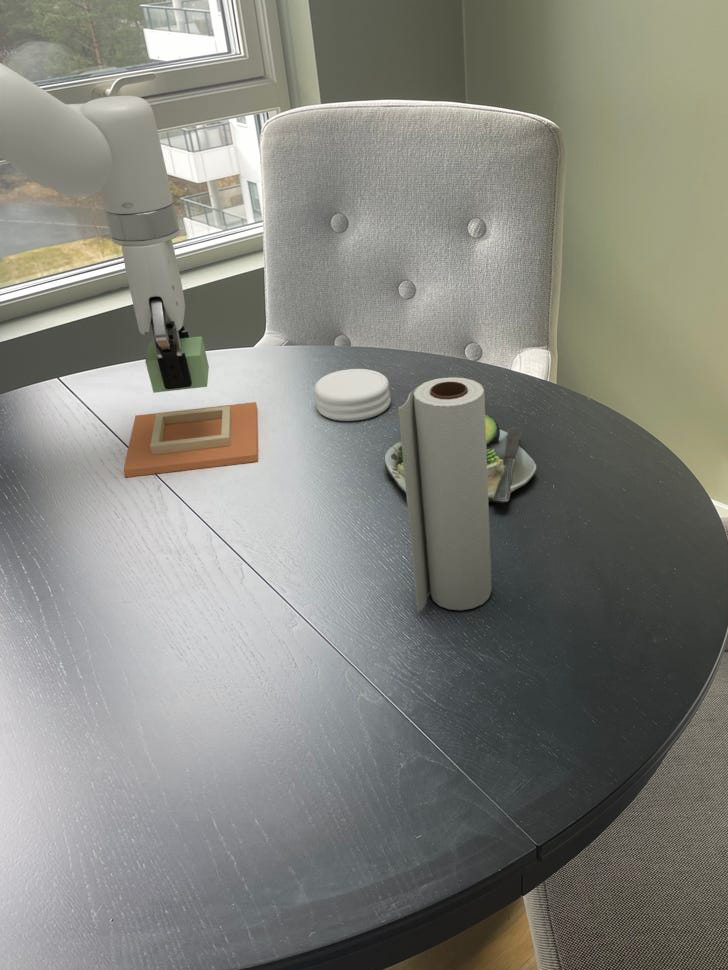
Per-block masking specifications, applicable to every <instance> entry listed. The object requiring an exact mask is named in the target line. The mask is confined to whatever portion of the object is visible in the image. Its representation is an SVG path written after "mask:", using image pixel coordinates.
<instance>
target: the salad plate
mask: <svg viewBox="0 0 728 970" xmlns="http://www.w3.org/2000/svg"><path fill="white" fill-rule="evenodd" d="M485 423H486V451H487V478H488V503H490V502H494V503H498V504H505V503H508V502H509V501H510V498H511V493H513V492H514V491H516V490H518V489H520V488H522V487H523V486H525V485H526V484H528V482H530V481H531V479H532V477H534V476H535V475H536V473H537V464H536V462H535V461H534V459H533V458H532V457H531V456H530V455H529V454H528V453H527V452H526V451H525V450H524V449H523V448H522V447H521V446H520V443H521V440H522V431H521V429H520V428H518V427H515V426H509V427H508V429H506V430H503V429H500V426H499V423H498V422H497V421H496V420H495V419H494V418H493V416H491V415H489V414H487V413H485ZM383 459H384V462H383V463H384V467H385V470H386V473H387V474H388V475H389V476H390V477H391V478H392V479H393V480H394V482H395V483H396V485H397V486H398V487H399V488H400V490H402V491H403V492H404V493H405V494H406V484H405V474H404V463H403V453H402V442H401V441H398V442H396V443H395V444H393V445H392V446H391V447H389V448H388V450H387V452H385V454H384V457H383Z"/></svg>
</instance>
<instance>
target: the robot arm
mask: <svg viewBox="0 0 728 970" xmlns="http://www.w3.org/2000/svg"><path fill="white" fill-rule="evenodd" d="M0 159H2V160H4V161H5V162H7V163H8V164H10V165H11V167H12V168H13V169H14V170H16V171H17V172H18V173H19V174H20V175H22V176H23V177H24V178H26V179H27V180H29V181H31V182H33V183H35V184H38V185H40V186H43V187H45V188H48V189H50V190H52V191H54V192H56V193H58V194H61V195H63V196H66V197H68V198H69V197H70V198H87V197H90V196H93V195H96V194H97V193H98V192H99V196H100V200H101V204H102V207H103V212H104V215H105V219H106V222H107V227H108V230H109V234H110V238H111V242H112V243H113V244H115V245H118V246H121V249H122V257H123V263H124V269H125V273H126V279H127V284H128V288H129V292H130V297H131V300H132V306H133V311H134V315H135V319H136V324H137V328H138V331H139V333H140V334H142V335H144V336H146V335H148V333H150V330H152V336H153V341H155V347H156V352H157V360H158V364H159V367H160V371H161V375H162V379H163V383H164V387H165V388H166V389H177V388H185V387H190V386H191V385H192V381H191V377H190V372H189V368H188V364H187V360H186V356H185V353H182V349H181V344H180V339H181V338H190V335H189V331H187V326H186V323H185V320H184V319H185V313H186V312H185V311H186V301H185V294H184V289H183V284H182V279H181V274H180V269H179V265H178V261H177V255H176V252H175V248H174V243H173V240H174V239H176V238H177V237H179V236H180V234H181V229H180V225H179V221H178V217H177V211H176V207H175V203H174V198H173V194H172V189H171V185H170V181H169V175H168V171H167V167H166V162H165V158H164V152H163V149H162V144H161V139H160V135H159V131H158V126H157V121H156V118H155V113H154V111H153V108H152V106H151V105H150V103H149V102H148V101H147V100H146V99H144V98H143V97H139V96H135V95H112V96H105V97H99V98H95V99H91V100H89V101H87V102H84V103H67V104H66V103H65V102H63V101H61V100H59V99H58V98H57V97H55V96H54V95H53V94H51V93H49V92H48V91H46V90H45V89H43V88H41V87H39V86H38V85H37V84H35V83H34V82H32V81H31V80H29V79H27V78H25V77H24V76H22V75H21V74H20V73H17V72H16V71H15V70H13V69H11V68H10V67H8V66H7V65H5V64H3V63H1V62H0ZM172 339H174V341H173V340H172ZM174 343H175V344H174Z"/></svg>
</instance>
